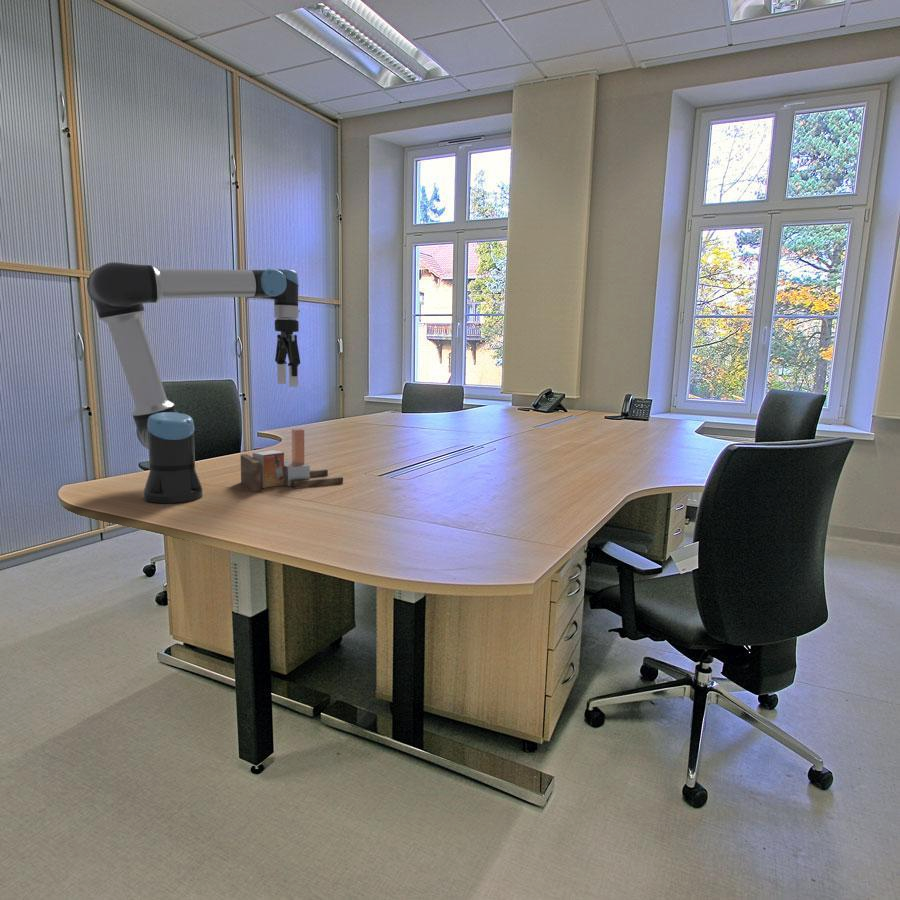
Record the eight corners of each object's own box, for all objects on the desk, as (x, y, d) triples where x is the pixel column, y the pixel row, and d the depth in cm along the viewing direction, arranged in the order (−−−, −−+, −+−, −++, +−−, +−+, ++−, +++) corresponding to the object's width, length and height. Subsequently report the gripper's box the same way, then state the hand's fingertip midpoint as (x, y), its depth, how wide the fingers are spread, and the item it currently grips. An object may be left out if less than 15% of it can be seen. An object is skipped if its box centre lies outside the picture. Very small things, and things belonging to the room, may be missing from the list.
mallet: (288, 486, 187) (287, 432, 184) (278, 480, 195) (277, 428, 193) (309, 484, 191) (309, 431, 188) (298, 478, 199) (298, 427, 196)
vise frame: (254, 492, 179) (253, 462, 178) (241, 482, 191) (240, 454, 190) (343, 483, 195) (343, 456, 193) (325, 474, 207) (326, 449, 205)
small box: (263, 488, 184) (262, 455, 182) (252, 485, 187) (251, 452, 186) (284, 484, 190) (284, 452, 189) (274, 481, 194) (273, 449, 192)
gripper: (310, 319, 186) (310, 387, 190) (287, 320, 207) (288, 382, 211) (286, 317, 182) (287, 387, 186) (265, 319, 203) (266, 382, 207)
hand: (287, 385), depth 198 cm, fingers open, 13 cm apart
